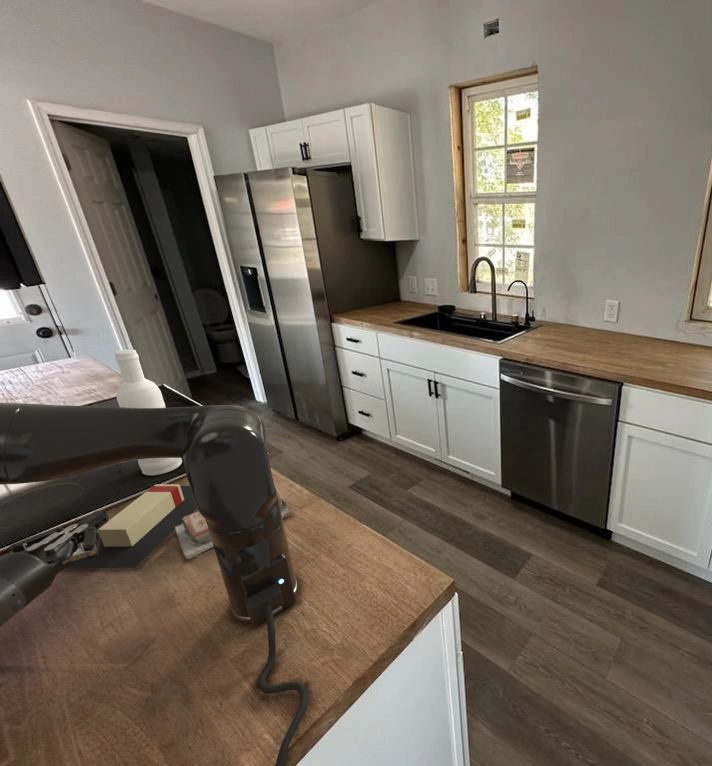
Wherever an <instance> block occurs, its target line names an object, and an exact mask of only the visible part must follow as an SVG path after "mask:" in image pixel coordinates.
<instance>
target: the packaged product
mask: <svg viewBox="0 0 712 766" xmlns="http://www.w3.org/2000/svg"><path fill="white" fill-rule="evenodd" d="M274 486H275V488H276V490H277V494H278V499H279V504H280V508H281V513H282V518H283V519H284V518H286V517H289V516H291V514H292V512H291V511H290V510H289V508H288V507H287V502H286V499H285V498H284V495H283V494H282V493H281V492H280V491H279V490H278V488H277V487H276V485H275V484H274ZM182 522H183V523H181V524H180V525H179V526H176V527H175V530H174V531H175V533H176V536H177V537H178V541H179V545H180V548H181V551H182V553H183V555H184V557H185V558H186V560H190V559H192V558H194V557H196V556H198V555H201V554H202V553H203V552H206V551H208V550H209V549H212V548H214V546H213V543H212V539H211V536H210V532H209V529H208V526H207V523H206V520H205V518H204V517H203V516H202V515H201V514H200V512H199V510H197V511H196V512H195V511H194V512H193V513H192V514H190V515H187V516H185V517H184V518H182Z"/></svg>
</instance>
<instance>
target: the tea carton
mask: <svg viewBox="0 0 712 766" xmlns="http://www.w3.org/2000/svg"><path fill="white" fill-rule="evenodd" d="M180 486H181V485H180V484H179V483H178V484H177V483H175V484H168V483H167V484H166V483H165V484H163V483H162V484H161V483H159V484H158V483H157V484H154V485H152V486H151V487H149V488H148V489H147V490H146V491H145V492H144V493H143V494H141V495H140V496H139V497H137V498H136V499H135V500H134V501H132V502H130V503H129V505H127V506H126V507H125V508H124V509H122V510H121V511H119V512H118V513H117V514H116V515H114V516H113V517H112V518H110V519H109V521H108V522H107V523H106V524H104V525H103V526H102V527H101V528H99V529H98V530H97V532H98V533H99V535H100V537H101V540H102V542H103V544H104V546H105V547H126V546H133V545H134V544H135V543H137V542H138V541H139V540H140V539H141V538H142V537H143V536H144V535H145V534H147V533H148V532H149V531H150V530H151V529H152V528H153V527H154V526H155V525H157V524H158V523H159V522H160V521H161V520H162V519H163V518H164V517H165V516H167V515H168V514H169V513H170V512H171V511H172V510H173V509H174V508H176V507H177V506H178V505H179V504H181V503H182V501H183V500H184V497H183V494H182V490H181V487H180Z"/></svg>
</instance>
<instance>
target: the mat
mask: <svg viewBox="0 0 712 766" xmlns="http://www.w3.org/2000/svg"><path fill="white" fill-rule="evenodd" d="M180 487H181V490H182V494H183V497H184V500H183V501H182V503H181V504H179V505H178V506H177V507H176V508H174V509H173V510H172V511H171V512H170V513H169V514H168V515H167V516H165V517H164V518H163V519H162V520H161V521H160V522H159V523H158V524H157V525H155V526H154V527H153V528H152V529H151V530H150V531H149V532H148V533H147V534H145V535H144V536H143V537H142V538H141V539H140V540H139V541H138V542H137V543H135V544H134V545H133V546H126V547H105V546H104V544H103V542H102V540H101V537H100V535H99V533H98V535H99V537H100V545H99V554H98V557H96V558H95V559H92V560H88V558H87V557H84V558H81V559H78V560H75V561H74V563H73V564H72V565H71V566H69V567H67V568H66V569H104V568H105V569H106V568H107V569H108V568H109V569H111V568H112V569H113V568H114V569H115V568H118V569H120V568H123V569H124V568H137V567H138V566H139V565H140V564H141V563H142V562H143V561H144V560H145V559H146V558H148V556H149V555H150V554H152V553H153V552H154V550H156V549H158V547H159V546H160V545H161V544H162V543H164V541H165V540H166V539H168V538H169V536H170V535H171V534H172V533H173V532H174V531H176V530H175V527H176V526H179V525H182V524H183V522H182V518H184V517H185V516H187V515H190V514H192V513H195V511H197V510H198V508H197V505H196V502H195V499H194V496H193V493H192V491H191V488H190V485H184V486H183V485H180Z"/></svg>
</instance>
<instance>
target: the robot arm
mask: <svg viewBox="0 0 712 766" xmlns="http://www.w3.org/2000/svg"><path fill="white" fill-rule="evenodd" d="M151 458H181V459H182V463H183V467H184V472H185V476H186V478H187V482H188V484H189V485H188V486H190V488H191V491H192V493H193V496H194V499H195V502H196V505H197V511H199V512H200V514H201V515H202V516H203V517H204V518H205V520H206V523H207V526H208V529H209V532H210V536H211V539H212V543H213V546H214V547H213V548H214V553H215V555H216V559H217V563H218V566H219V570H220V573H221V576H222V580H223V583H224V587H225V590H226V593H227V596H228V600H229V603H230V609H231V612H232V616H234V618H235V619H236V620H238V621H241V622H244V623H252V625H253V626H254V627H256V626H258V625H260V624H262V623H263V622H265V621H266V627H267V639H268V640H267V641H268V643H267V644H268V654H267V660H266V663H265V666H264V669H263V670H262V672H261V673H260V675H259V677H258V680H257V687H258V690H259V691H260V692H262V693H265V694H276V693H281V692H286V691H296V692H297V693H298V695H299V699H300V700H299V706H298V709H297V710H296V713H295V716H294V717H293V719H292V721H291V723H290V725H289V727H288V728H287V731H286V733H285V735H284V737H283V739H282V741H281V744H280V746H279V750H278V754H277V757H276V763H275V766H285V765H286V758H287V753H288V750H289V747H290V745H291V743H292V739H293V738H294V735H295V733H296V731H297V729H298V727H299V725H300V723H301V721H302V719H303V717H304V714H305V712H306V710H307V706H308V703H309V702H308V701H309V696H308V690H307V688H306V685H304V684H303V683H302V682H299V681H288V682H284V683H279V684H278V683H277V684H272V685H271V684H267V682H266V680H267V678H268V676H269V674H270V672H271V670H272V669H273V667H274V664H275V660H276V652H277V641H276V627H275V620H274V616H276V615H278V614H279V613H280V612H282V611H284V610H285V609H287V608H289V607H291V606H292V605H294V604H295V603H296V602H297V599H296V595H297V593H298V587H299V586H298V584H299V583H298V580H297V577H296V575H295V569H294V565H293V561H292V556H291V551H290V546H289V542H288V538H287V533H286V527H285V524H284V518H282V513H281V508H280V504H279V499H278V494H277V490H278V489H277V490H276V488H277V487H276V485H275V483H274V477H273V472H272V469H271V464H270V459H269V455H268V449H267V439H266V428H265V424H264V422H263V420H262V419H261V417H260V416H259V415H258V414H257V413H255V412H254V411H253V410H251V409H248V408H246V407H243V406H238V405H232V404H213V405H212V404H211V405H192V406H175V407H172V406H171V407H166V408H124V407H119V406H104V405H103V406H102V405H101V406H100V405H99V406H98V405H70V404H69V405H64V404H46V403H25V402H20V403H19V402H0V485H1V486H3V485H19V484H21V485H23V484H32V483H43V482H47V481H48V482H49V481H53V480H54V481H55V480H58V479H64V478H67V477H72V476H76V475H81V474H84V473H89V472H92V471H97V470H100V469H103V468H107V467H110V466H115V465H120V464H122V463H123V464H124V463H127V462H134V461H138V460H140V459H151ZM274 485H275V486H274ZM275 487H276V488H275ZM109 520H110V517H109V515H108V512H107V511H105V510H95V511H93V512H92V513H91V514H89V515H88V516H85V518H83V519H82V520H80V521H79V522H78V523H73V524H70V525H68V526H67V527H65V528H64V526H57V527H54V528H51V529H49V530H47V531H43V532H41V533H39V534H36V535H33V536H30V537H28V538H25V539H23V540H20V541H17V542H15V543H13V544H10V545H9V546H8V549H9V552H10V553H7V554H4V555H2V556H0V628H1V627H3V625H5V624H7V622H9V621H10V620H11V619H12V618H13V617H15V616H16V615H17V614H19V613H20V612H21V611H22V610H23V609H25V608H26V607H27V606H28V605H30V604H31V603H32V602H33V601H35V600H36V599H37V598H38V597H39V596H41V595H42V594H43V593H45V591H47V590H48V589H49V588H51V586H52V585H53V583H54V581H55V578H56V576H57V575H58V574H59V573H60V572H61V571H63V570H65V569H68V568H67V567H69V566H71V565H72V564H73V563H74V561H75V560H78V559H81V558H84V557H87V558H88V560H92V559H95V558H96V557H98V554H99V545H100V537H99V535H98V529H99V528H101V527H102V526H103V525H104V524H106V523H107V522H108V521H109Z"/></svg>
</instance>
